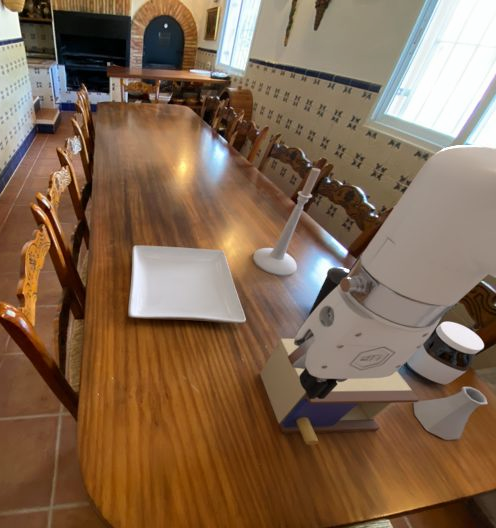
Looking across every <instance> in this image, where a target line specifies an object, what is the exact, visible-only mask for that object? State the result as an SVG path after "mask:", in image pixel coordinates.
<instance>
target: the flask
mask: <svg viewBox="0 0 496 528" xmlns="http://www.w3.org/2000/svg"><path fill="white" fill-rule="evenodd" d="M412 403H413V413H414V414H413V415H414V416H415V418H417V420H418V422H420V424H421V425H422V427H423V428H424V429H425V431H426V432H429V433H430V434H433V435H435V436H437V437H439V438H441V439H443V440H445V441H451V440H452V441H453V440H460V439H461V436H462V434H463V432H464V429H465V426H466V425H467V422H468V420H469V418H470V417H471V415H472V413H473V412H474V411H475V410H476V409H477V408H478V407H480V406H487V405H488V404H489V403H488V400H487V397H486V396H485V395H484V394H483V393H482V392H481V391H480V390H479V389H476V388H474V387H471V386H462V387H461V391H459V392H457V393H455V394H452V395H450V396H447V397H441V398H434V399H427V400H419V401H418V402H412Z"/></svg>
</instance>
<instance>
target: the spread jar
mask: <svg viewBox="0 0 496 528" xmlns="http://www.w3.org/2000/svg"><path fill="white" fill-rule="evenodd" d="M484 348H485V343H484V341H483V340H482V338H481V337H480V336H479V335H478V334H477V333H476V332H475V331H473V330H472V329H470V328H468V327H466V326H465V325H462V324H460V323H458V322H453V321H443V322H441V323H440V324H438V325H437V326H436V328H435V329H434V331H433V332H432V334H431V335H430V336H429V338H428V339H427V340H426V341H425V343H424V344H423V345H422V346H421V347H420V348H419V349H418V350H417V351H416V352H415V354H414V355H413V356H412V357H411V358H410V359H409V360H408V361H407V362H406V363H405V364H404V365H406V367H407V368H408V369H409V370H410V371H411V372H412V373H413V374H415V375H416V377H419V378H420V379H423V380H425V381H428V382H430V383H434V384H437V385H441V386H442V385H443V386H444V385H448V384H450V383H452V382H453V381H455V380H457V379H458V378H459V377H461V376H462V375H463V374H465V373H466V372H467V371H468V370H469V369H470V368H471V367H472V365H473V363H474V361H475V358H476V354H477V353H479V352H481V351H482V350H484Z"/></svg>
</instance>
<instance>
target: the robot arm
mask: <svg viewBox="0 0 496 528" xmlns="http://www.w3.org/2000/svg"><path fill="white" fill-rule="evenodd" d="M360 255H361V257H360V258H359V259H358V258H357V259H358V261H357V262H356V264H355V265H354V267H353V268H352V270H351V271H350V273H349V274H348V276H347V277H344V278H342V279H341V281H340V285H338V286H337V287H336V288H335V289H334V290H333V291H332V292H331V293H330V294H329V295H328V296H327V297H326V298H325V299H324V300H323V301H322V302H321V303H320V304H319V305H318V306H317V307H316V309H315V310H314V311H313V312H312V313H311V315H310V316H309V315H308V317H307V318H306V320H305V321H304V323H303V324H302V326H301V327H300V328H299V330H298V332H297V334H296V336H295V337H294V339H295V340H294V344H295V345H296V346H299V347H298V348H297V349H295V350H294V351H293V352H292V353H291V354H290V355H289V356H288V359H289V361H290V363H291V365H292V367H294V368H300V369H304V371H303V372H302V373H301V375H300V377H299V378H300V383H301V385H302V387H303V388H304V389H305V391H306V393H307V395H308V397H309V399H315V398H316V397H317V398H319V399H324V398H325V397H326V396H327V395H328V394H329V393H330V392H331V391H332V390H333V389H334V388H335V387H336V386H337V382H344V381H346V380H347V379H361V378H383V377H388V376H391V375H392V374H394V373H395V372H396V371H398V370H400V368H402V367H403V366H404V365H406V364H405V363H406V362H407V361H408V360H409V359H410V358H411V357H412V356H413V355H414V354H415V352H416V351H417V350H418V349H419V348H420V347H421V346H422V345H423V344H424V343H425V341H426V340H427V339H428V338H429V336H430V335H431V334H432V332H433V331H434V329H435V328H436V327H438V326H439V323H440V321H441V320H442V317H443V316H444V315H446V314H447V313H448V312H449V311H450V310H451V309H453V307H454V306H455V305H456V304H458V302H459V301H460V300H461V299H463V298H464V297H465V296H466V295H467V294H468V293H470V291H472V290H473V289H474V288H475V287H476V286H477V285H478V284H480V283H481V282H482V281H483V280H484V279H485V278H486V277H487V276H488V275H489V276H491V277H492V278H494V279H496V148H493V147H489V146H488V147H487V146H482V145H481V146H479V145H454V146H449V147H446V148H445V147H444V148H443V149H441V150H438V151H437V152H436V153H434V154H432V155H431V156H430V157H429V158H428V159H427V160H426V161H425V162H424V163H423V165H422V166H421V168H420V169H419V170H418V172H417V173H416V175H415V176H414V178H413V179H412V181H411V182H410V184H409V185H408V186H407V188H406V189H405V191H404V192H403V194H402V195H401V197H400V198H399V199H398V201H397V203H396V204H395V205H394V207H393V209H392V210H391V212H390V213H389V214H388V216H387V217H386V219H385V220H384V221H383V223H382V224H381V226H380V228H379V229H378V231H377V232H376V233H375V235H374V236H373V237H372V239H371V240H370V242H369V243H368V245H367V246H366V248H365V249H364V251H363V252H362V253H361V254H360ZM336 381H337V382H336Z"/></svg>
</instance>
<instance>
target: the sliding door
mask: <svg viewBox="0 0 496 528" xmlns="http://www.w3.org/2000/svg"><path fill="white" fill-rule="evenodd" d="M357 404H358V403H351V404H309V403H308V401H307V399H306V398H304V399H303V401H302V402H301V403H300V404H299V405H298V406H297V407H296V409H295V410H294V411H293V412H292V413H291V414H290V416H289V417H288V418H287V419H286V420H285V421H284V422H283V426H284V427H299V429H300V432H301V433H300V434H301V437H302V439H303V441H304V443H305V445H307V446H314V445H316V444H318V443H319V439H318V436H317V435H316V433H315V432H314V430H313V428H312V426H333V425H334V424H336V423H337V422H338V421H339V420H340V419H341V418H342V417H343V416H345V415H346V414H347V413H348V412H349V411H350V410H351V409H353V408H354V407H355V406H356V405H357Z"/></svg>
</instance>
